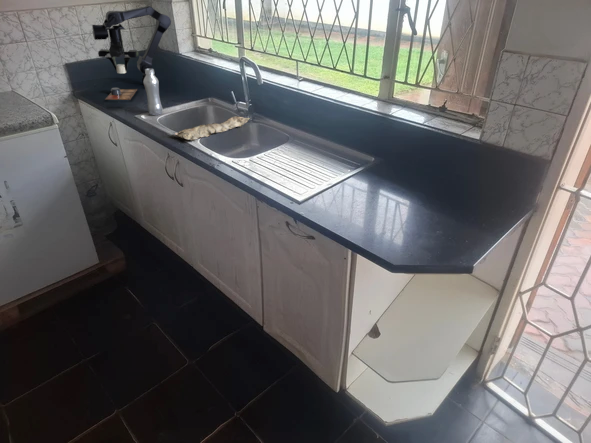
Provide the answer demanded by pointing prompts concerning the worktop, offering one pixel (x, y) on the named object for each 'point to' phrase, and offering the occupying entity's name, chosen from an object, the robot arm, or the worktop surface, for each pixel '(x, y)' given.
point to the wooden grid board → (122, 95)
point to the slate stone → (115, 91)
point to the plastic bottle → (152, 92)
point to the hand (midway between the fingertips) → (121, 70)
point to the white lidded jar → (120, 68)
